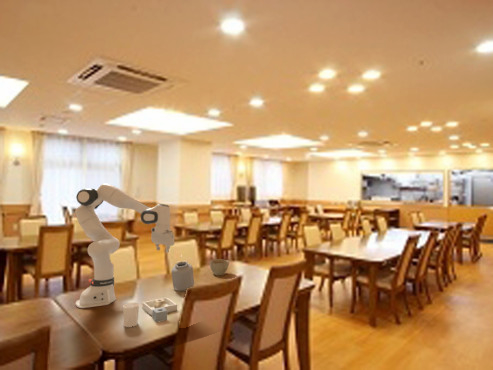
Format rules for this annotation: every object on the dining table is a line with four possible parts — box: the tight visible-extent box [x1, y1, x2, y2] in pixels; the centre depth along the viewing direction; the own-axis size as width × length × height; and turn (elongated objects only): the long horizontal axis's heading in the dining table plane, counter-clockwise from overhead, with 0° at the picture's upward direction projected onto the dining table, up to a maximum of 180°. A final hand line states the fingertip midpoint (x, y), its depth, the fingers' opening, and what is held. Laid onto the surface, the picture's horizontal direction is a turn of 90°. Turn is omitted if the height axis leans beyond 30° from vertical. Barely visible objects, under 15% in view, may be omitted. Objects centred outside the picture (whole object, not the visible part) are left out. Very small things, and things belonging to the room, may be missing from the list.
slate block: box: [152, 307, 168, 323], centre depth 173 cm, size 6×6×5 cm
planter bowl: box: [209, 258, 230, 276], centre depth 268 cm, size 16×16×11 cm
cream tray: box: [142, 297, 178, 317], centre depth 187 cm, size 15×15×4 cm
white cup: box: [122, 302, 140, 328], centre depth 166 cm, size 8×8×10 cm
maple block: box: [154, 298, 165, 309], centre depth 187 cm, size 4×4×5 cm
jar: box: [170, 253, 195, 292], centre depth 225 cm, size 19×15×25 cm
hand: (162, 251), depth 204 cm, fingers open, 8 cm apart
